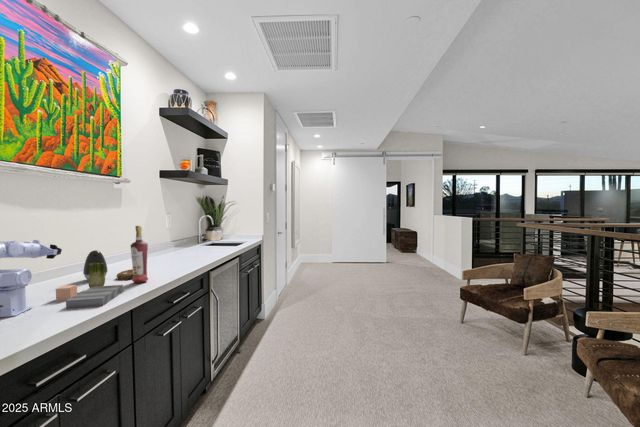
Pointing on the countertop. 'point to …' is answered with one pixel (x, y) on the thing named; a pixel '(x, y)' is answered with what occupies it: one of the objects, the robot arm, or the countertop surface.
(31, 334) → the countertop surface
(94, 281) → the fennel bulb
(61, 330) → the countertop surface
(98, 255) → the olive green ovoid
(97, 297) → the charcoal board
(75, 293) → the terracotta block
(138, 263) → the liquor
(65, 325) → the countertop surface
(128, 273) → the decorative rock
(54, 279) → the countertop surface
